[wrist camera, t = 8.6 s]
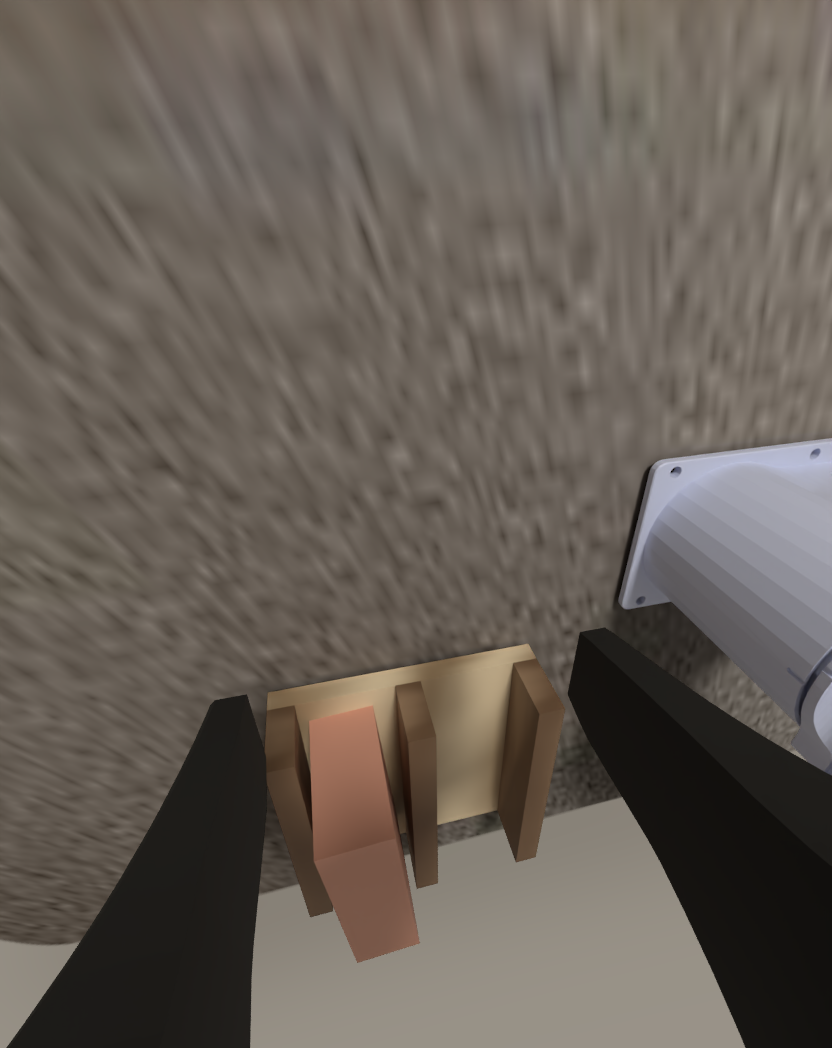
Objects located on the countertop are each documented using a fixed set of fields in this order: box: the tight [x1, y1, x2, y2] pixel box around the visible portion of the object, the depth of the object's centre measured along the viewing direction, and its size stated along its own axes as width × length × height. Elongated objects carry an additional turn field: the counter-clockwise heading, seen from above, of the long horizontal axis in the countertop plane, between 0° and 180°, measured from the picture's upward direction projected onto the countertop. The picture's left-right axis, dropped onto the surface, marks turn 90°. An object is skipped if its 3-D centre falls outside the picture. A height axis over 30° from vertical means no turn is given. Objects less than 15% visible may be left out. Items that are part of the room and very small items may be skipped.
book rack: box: [265, 644, 565, 917], centre depth 25 cm, size 13×13×4 cm
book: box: [309, 705, 420, 963], centre depth 23 cm, size 3×10×6 cm, turn 6°
